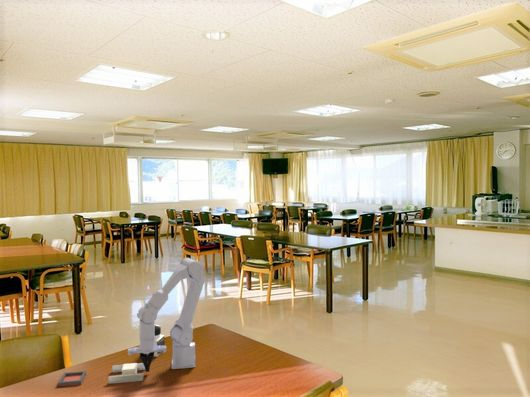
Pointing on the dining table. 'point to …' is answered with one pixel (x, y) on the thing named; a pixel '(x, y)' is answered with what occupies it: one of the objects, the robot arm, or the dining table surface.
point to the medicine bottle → (158, 339)
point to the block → (129, 369)
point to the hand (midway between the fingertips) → (147, 370)
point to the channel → (126, 377)
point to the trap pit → (72, 378)
